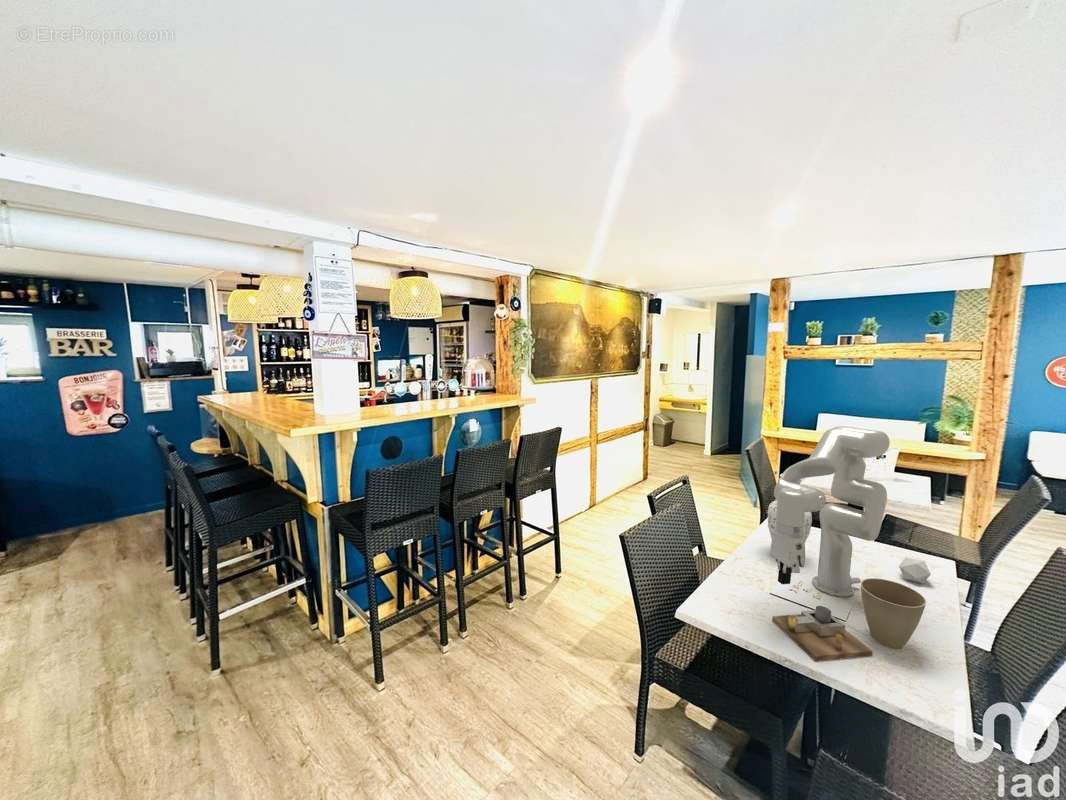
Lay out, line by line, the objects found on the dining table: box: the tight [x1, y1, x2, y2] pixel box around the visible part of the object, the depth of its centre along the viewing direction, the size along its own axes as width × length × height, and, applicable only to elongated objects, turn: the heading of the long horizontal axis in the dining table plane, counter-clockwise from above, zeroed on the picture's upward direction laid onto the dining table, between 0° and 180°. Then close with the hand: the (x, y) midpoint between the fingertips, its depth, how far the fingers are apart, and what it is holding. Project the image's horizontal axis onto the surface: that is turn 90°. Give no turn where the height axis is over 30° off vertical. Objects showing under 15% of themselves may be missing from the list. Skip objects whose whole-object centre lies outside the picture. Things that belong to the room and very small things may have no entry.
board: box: [771, 605, 874, 662], centre depth 129 cm, size 18×18×8 cm
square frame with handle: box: [788, 609, 846, 637], centre depth 131 cm, size 15×8×4 cm, turn 97°
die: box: [898, 556, 931, 584], centre depth 161 cm, size 8×9×10 cm
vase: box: [767, 473, 813, 543], centre depth 178 cm, size 16×16×35 cm
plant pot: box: [860, 577, 927, 650], centre depth 127 cm, size 15×15×16 cm
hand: (783, 582), depth 136 cm, fingers closed
